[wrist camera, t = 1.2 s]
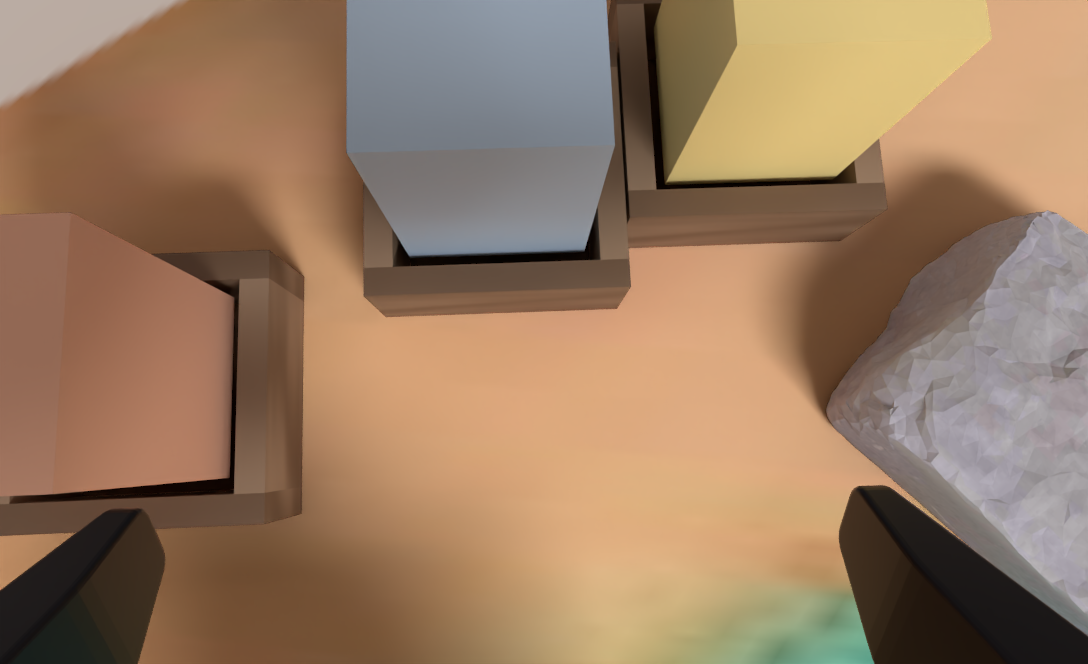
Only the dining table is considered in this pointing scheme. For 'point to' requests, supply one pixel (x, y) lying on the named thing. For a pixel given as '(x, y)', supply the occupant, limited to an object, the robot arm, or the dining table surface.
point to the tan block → (107, 363)
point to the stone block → (990, 401)
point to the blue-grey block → (481, 121)
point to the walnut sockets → (463, 293)
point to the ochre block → (798, 80)
